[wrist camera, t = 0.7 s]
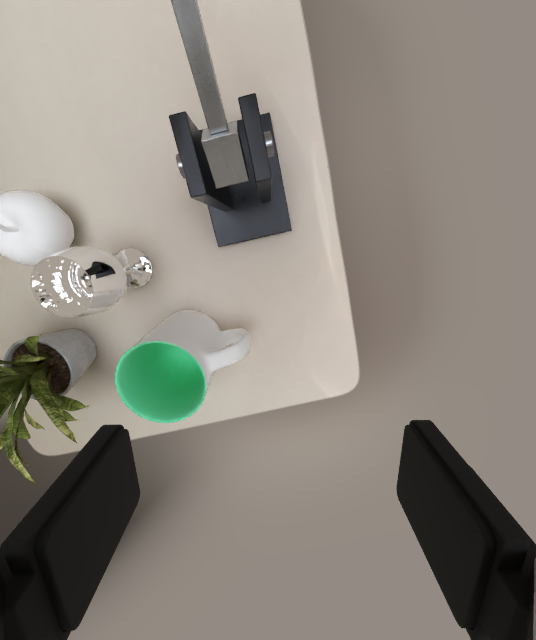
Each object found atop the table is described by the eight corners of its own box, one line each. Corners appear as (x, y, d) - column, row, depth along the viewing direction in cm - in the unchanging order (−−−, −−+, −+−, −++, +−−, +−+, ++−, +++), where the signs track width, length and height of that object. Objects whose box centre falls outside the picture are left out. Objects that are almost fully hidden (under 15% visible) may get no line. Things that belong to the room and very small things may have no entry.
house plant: (46, 416, 39) (-101, 538, 24) (-13, 320, 36) (-233, 391, 20) (144, 387, 38) (58, 496, 22) (95, 285, 34) (-51, 331, 19)
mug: (239, 289, 34) (227, 312, 24) (263, 349, 37) (261, 394, 27) (146, 322, 36) (98, 358, 26) (174, 379, 38) (140, 433, 28)
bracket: (191, 136, 30) (122, 52, 16) (269, 116, 29) (269, 11, 15) (220, 246, 33) (182, 258, 19) (290, 230, 32) (307, 230, 18)
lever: (72, -162, 11) (47, -191, 10) (203, -205, 11) (199, -243, 9) (195, 179, 21) (193, 194, 19) (268, 162, 20) (272, 175, 19)
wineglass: (109, 236, 33) (22, 239, 21) (161, 248, 33) (103, 257, 22) (105, 287, 34) (23, 315, 23) (155, 297, 35) (98, 331, 23)
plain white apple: (101, 227, 32) (49, 226, 25) (66, 274, 34) (7, 287, 26) (44, 179, 31) (-29, 162, 23) (11, 231, 33) (-68, 231, 25)
